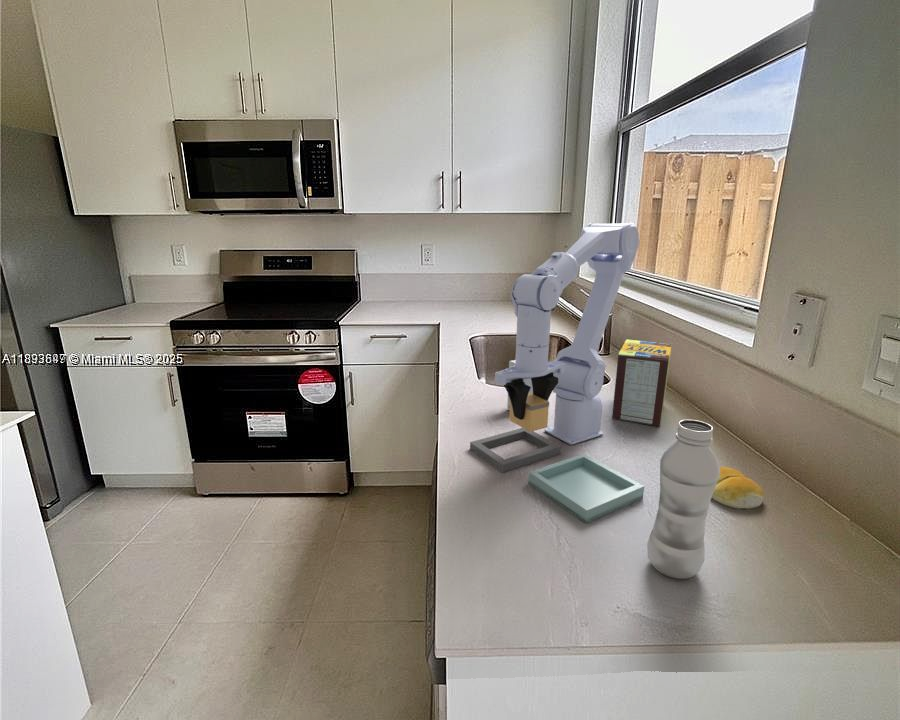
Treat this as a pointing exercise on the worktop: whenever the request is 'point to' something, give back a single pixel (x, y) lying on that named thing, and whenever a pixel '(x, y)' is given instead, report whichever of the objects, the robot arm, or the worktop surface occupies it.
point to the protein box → (641, 382)
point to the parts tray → (585, 487)
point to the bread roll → (737, 490)
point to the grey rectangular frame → (520, 460)
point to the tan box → (532, 414)
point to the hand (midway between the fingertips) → (528, 415)
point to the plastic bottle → (684, 501)
